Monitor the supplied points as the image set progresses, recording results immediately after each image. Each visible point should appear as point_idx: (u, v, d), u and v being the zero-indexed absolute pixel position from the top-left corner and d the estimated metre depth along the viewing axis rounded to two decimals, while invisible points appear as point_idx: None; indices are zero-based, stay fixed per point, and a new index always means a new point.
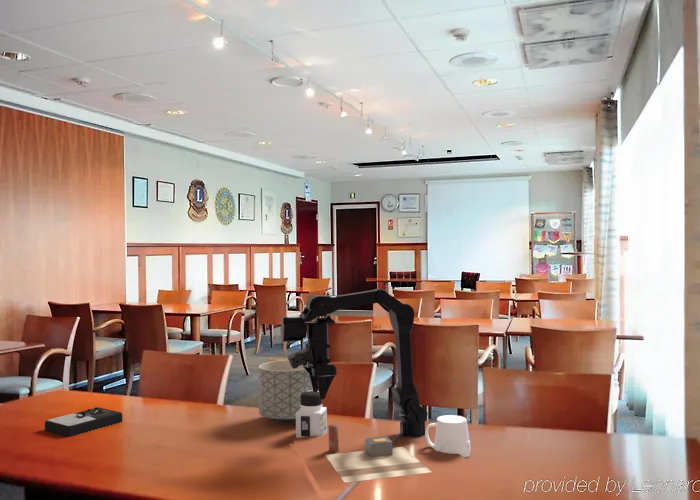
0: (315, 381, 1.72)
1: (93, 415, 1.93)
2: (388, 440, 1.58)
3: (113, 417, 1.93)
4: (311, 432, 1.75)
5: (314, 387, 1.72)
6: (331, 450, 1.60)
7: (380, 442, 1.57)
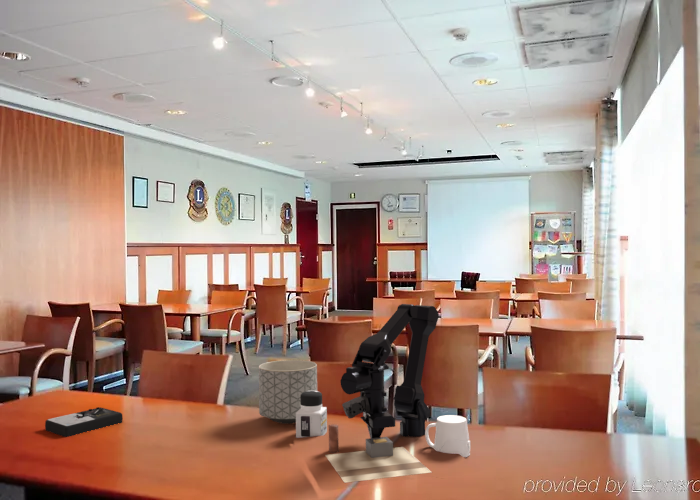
0: None
1: (93, 415, 1.93)
2: (389, 440, 1.58)
3: (112, 418, 1.93)
4: (311, 432, 1.75)
5: None
6: (331, 450, 1.60)
7: (380, 442, 1.56)
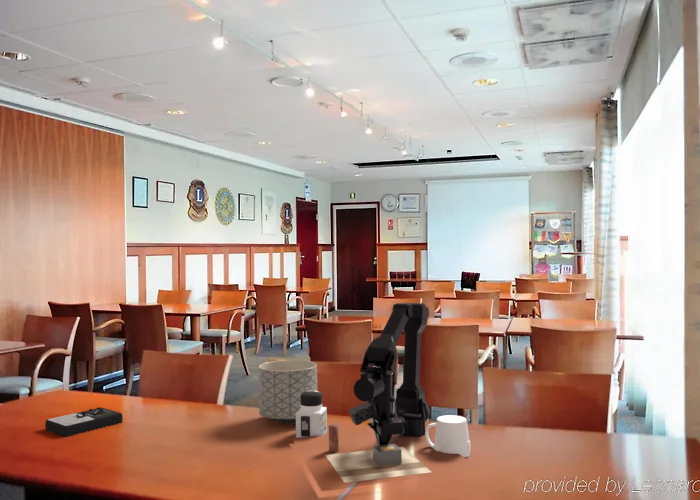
0: None
1: (93, 415, 1.93)
2: (397, 448, 1.52)
3: (112, 418, 1.93)
4: (311, 432, 1.75)
5: None
6: (331, 450, 1.60)
7: (389, 450, 1.50)
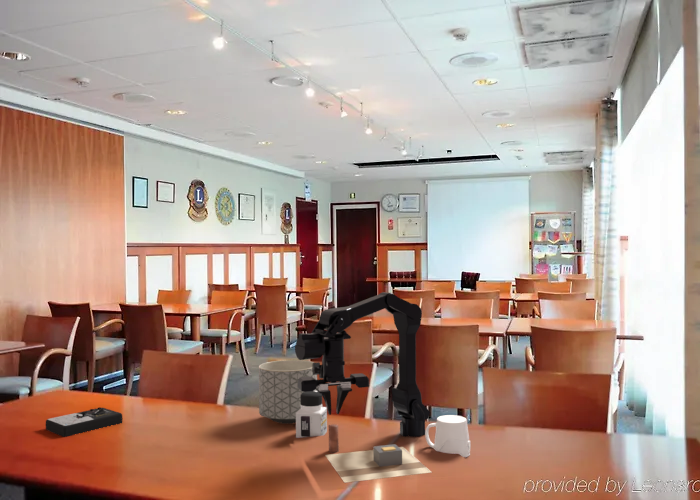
0: (337, 402, 1.61)
1: (93, 415, 1.93)
2: (397, 448, 1.52)
3: (112, 418, 1.93)
4: (311, 432, 1.75)
5: (336, 408, 1.62)
6: (331, 450, 1.60)
7: (389, 451, 1.50)
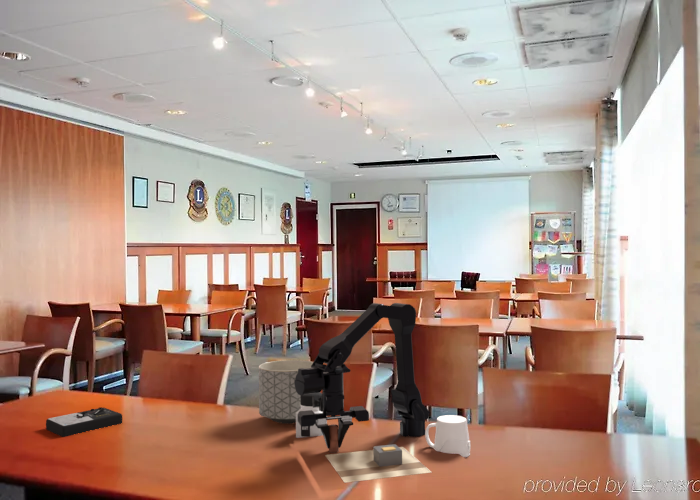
0: (338, 436, 1.62)
1: (93, 415, 1.93)
2: (397, 448, 1.52)
3: (111, 418, 1.92)
4: (311, 432, 1.75)
5: (338, 442, 1.62)
6: (331, 450, 1.60)
7: (389, 451, 1.50)
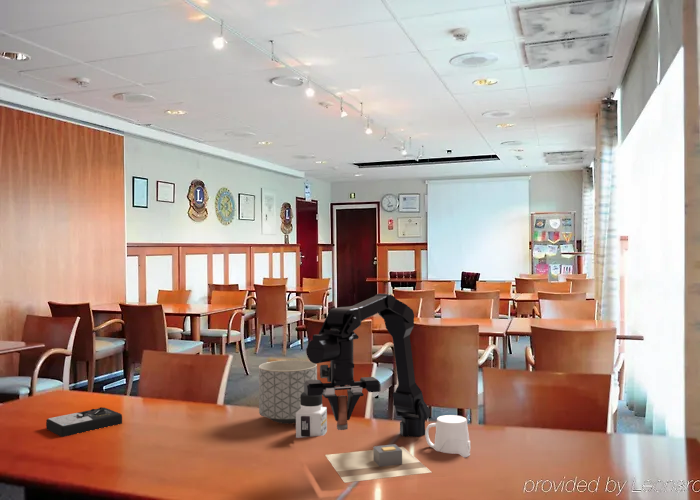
0: (348, 408, 1.51)
1: (93, 415, 1.93)
2: (397, 448, 1.52)
3: (111, 419, 1.92)
4: (311, 432, 1.75)
5: None
6: (339, 422, 1.49)
7: (389, 451, 1.50)
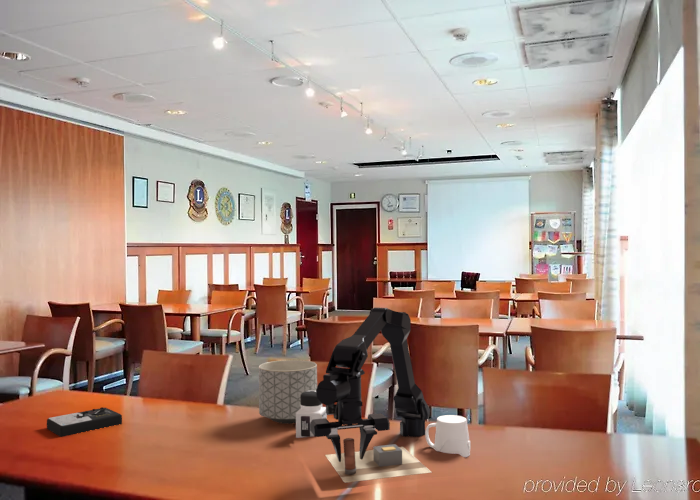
0: (361, 446, 1.46)
1: (93, 415, 1.92)
2: (397, 448, 1.52)
3: (111, 419, 1.92)
4: (311, 432, 1.75)
5: (360, 453, 1.46)
6: (347, 467, 1.44)
7: (389, 451, 1.50)
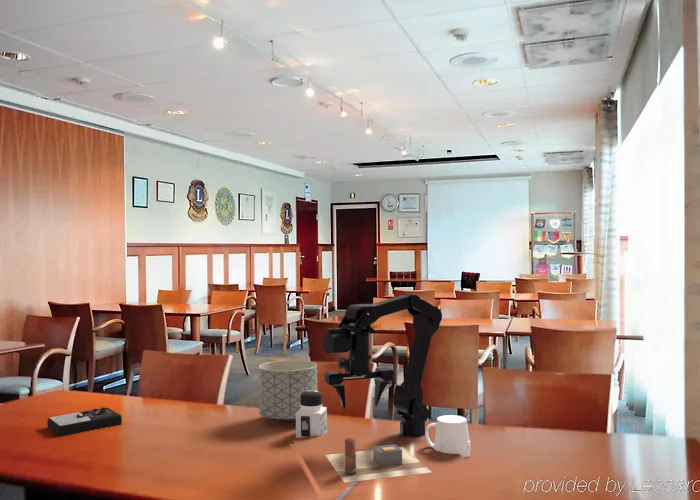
0: (375, 395, 1.66)
1: (93, 416, 1.92)
2: (397, 448, 1.52)
3: (110, 419, 1.91)
4: (311, 432, 1.75)
5: (374, 400, 1.66)
6: (348, 467, 1.44)
7: (389, 451, 1.50)
